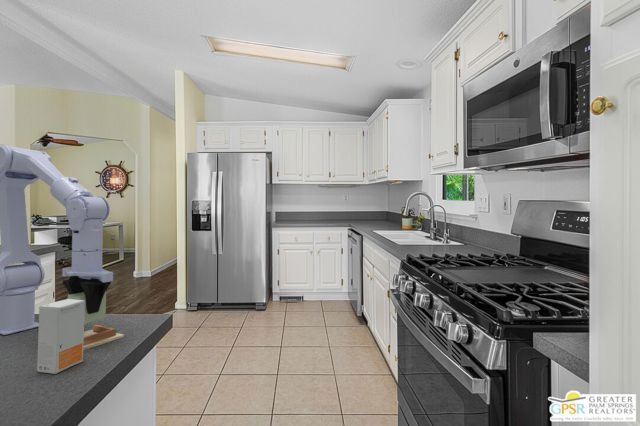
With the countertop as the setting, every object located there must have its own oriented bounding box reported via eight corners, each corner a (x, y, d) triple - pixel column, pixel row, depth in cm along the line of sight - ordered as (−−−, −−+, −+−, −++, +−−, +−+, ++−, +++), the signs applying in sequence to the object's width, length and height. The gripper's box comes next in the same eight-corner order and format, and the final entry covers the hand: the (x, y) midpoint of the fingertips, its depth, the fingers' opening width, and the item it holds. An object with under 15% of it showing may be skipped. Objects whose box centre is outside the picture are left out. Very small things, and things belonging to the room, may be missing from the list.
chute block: (67, 322, 78) (67, 295, 78) (94, 315, 84) (94, 289, 84) (78, 325, 77) (79, 297, 77) (105, 317, 82) (106, 291, 82)
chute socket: (40, 346, 77) (41, 337, 77) (95, 330, 88) (96, 322, 88) (70, 355, 73) (70, 345, 73) (124, 336, 84) (124, 328, 84)
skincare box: (56, 374, 64) (57, 307, 64) (36, 372, 65) (37, 306, 65) (84, 361, 70) (86, 299, 70) (66, 359, 71) (67, 298, 71)
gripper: (48, 249, 79) (47, 311, 79) (90, 254, 73) (89, 320, 73) (80, 247, 86) (79, 304, 86) (122, 251, 80) (121, 312, 80)
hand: (86, 311), depth 80 cm, fingers closed on chute block, 4 cm apart
